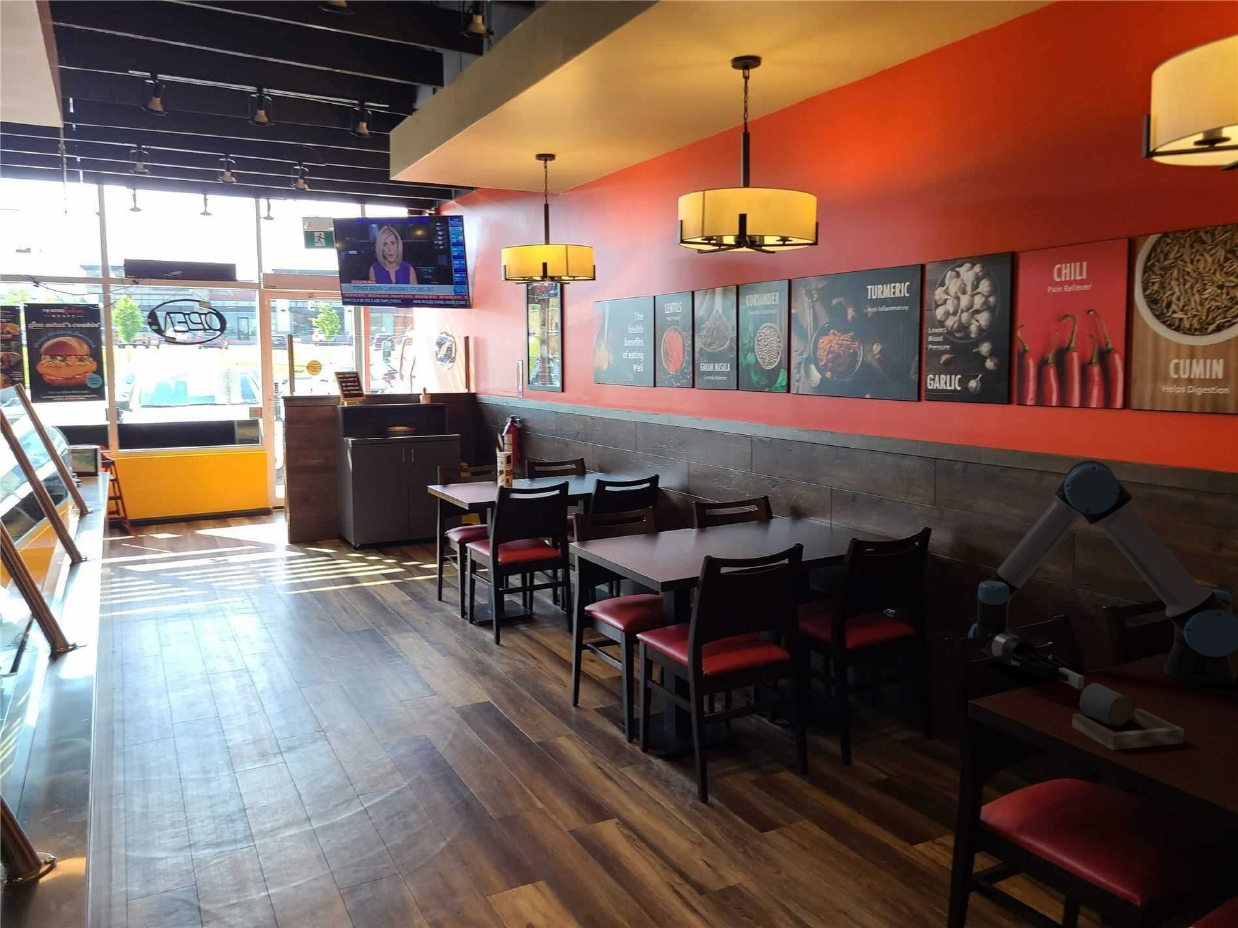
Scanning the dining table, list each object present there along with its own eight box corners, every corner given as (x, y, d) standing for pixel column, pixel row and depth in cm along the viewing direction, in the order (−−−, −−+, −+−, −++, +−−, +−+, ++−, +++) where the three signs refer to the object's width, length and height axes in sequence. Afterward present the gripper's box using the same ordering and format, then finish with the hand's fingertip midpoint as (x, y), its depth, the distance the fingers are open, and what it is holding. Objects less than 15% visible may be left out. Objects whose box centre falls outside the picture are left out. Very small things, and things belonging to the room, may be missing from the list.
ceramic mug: (1110, 730, 190) (1112, 696, 190) (1077, 717, 198) (1079, 684, 197) (1143, 723, 195) (1146, 690, 194) (1110, 711, 202) (1112, 678, 201)
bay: (1138, 721, 195) (1139, 708, 195) (1183, 742, 184) (1184, 729, 183) (1072, 727, 192) (1072, 714, 192) (1112, 749, 180) (1113, 735, 180)
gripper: (1036, 663, 226) (1104, 696, 203) (991, 667, 223) (1055, 700, 200) (1037, 635, 225) (1106, 664, 202) (992, 638, 223) (1057, 668, 200)
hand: (1080, 682), depth 201 cm, fingers closed
